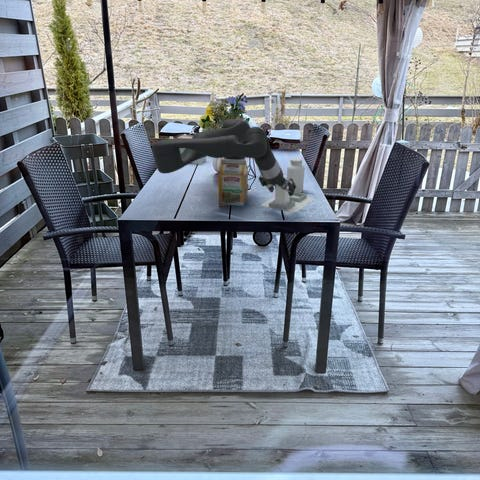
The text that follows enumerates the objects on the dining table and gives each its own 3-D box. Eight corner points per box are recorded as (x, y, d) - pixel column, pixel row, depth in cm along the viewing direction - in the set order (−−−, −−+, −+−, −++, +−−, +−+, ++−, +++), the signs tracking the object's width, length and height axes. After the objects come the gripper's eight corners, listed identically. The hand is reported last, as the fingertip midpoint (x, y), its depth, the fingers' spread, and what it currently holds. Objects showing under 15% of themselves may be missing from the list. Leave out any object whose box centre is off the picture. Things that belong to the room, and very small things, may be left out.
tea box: (176, 162, 246) (175, 137, 240) (183, 159, 254) (182, 134, 248) (200, 164, 242) (199, 139, 236) (206, 161, 250) (206, 136, 244)
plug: (284, 208, 170) (285, 183, 166) (273, 206, 172) (274, 182, 168) (289, 205, 174) (290, 181, 169) (278, 203, 176) (279, 179, 172)
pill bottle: (289, 193, 192) (291, 161, 186) (283, 189, 199) (285, 157, 193) (305, 192, 194) (308, 160, 188) (298, 187, 201) (301, 156, 195)
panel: (295, 215, 166) (295, 208, 165) (259, 207, 174) (259, 201, 173) (315, 201, 182) (315, 195, 181) (282, 195, 190) (282, 189, 189)
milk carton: (218, 207, 174) (218, 162, 167) (223, 199, 184) (223, 156, 176) (243, 208, 173) (244, 163, 165) (247, 200, 182) (248, 157, 175)
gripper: (249, 175, 157) (263, 197, 171) (283, 181, 150) (294, 203, 164) (257, 158, 159) (270, 181, 173) (291, 164, 153) (301, 187, 166)
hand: (282, 192), depth 168 cm, fingers open, 8 cm apart
